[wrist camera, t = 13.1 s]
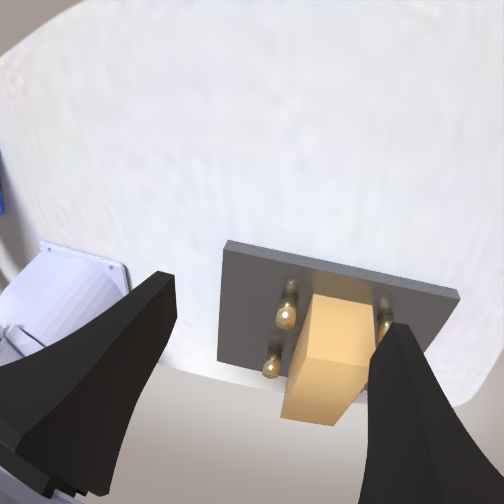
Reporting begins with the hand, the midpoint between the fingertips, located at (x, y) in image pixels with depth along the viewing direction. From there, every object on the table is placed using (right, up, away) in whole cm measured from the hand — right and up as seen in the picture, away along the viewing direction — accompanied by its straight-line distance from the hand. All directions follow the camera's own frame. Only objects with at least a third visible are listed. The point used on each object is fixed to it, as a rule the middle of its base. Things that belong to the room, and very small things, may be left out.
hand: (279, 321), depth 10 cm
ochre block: (+5, -4, +12) cm, 14 cm away
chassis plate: (+5, -4, +13) cm, 14 cm away
